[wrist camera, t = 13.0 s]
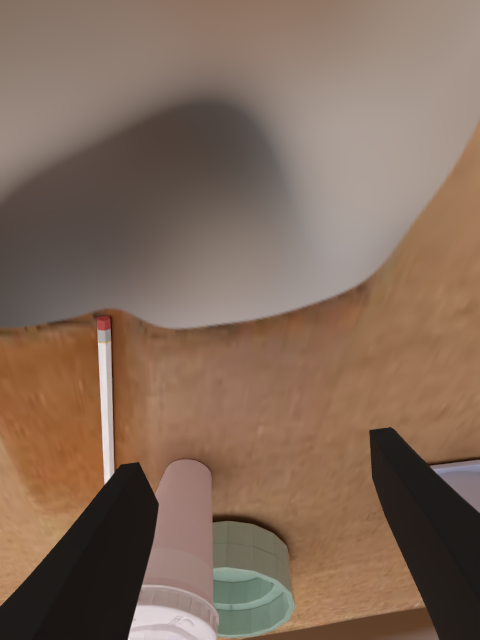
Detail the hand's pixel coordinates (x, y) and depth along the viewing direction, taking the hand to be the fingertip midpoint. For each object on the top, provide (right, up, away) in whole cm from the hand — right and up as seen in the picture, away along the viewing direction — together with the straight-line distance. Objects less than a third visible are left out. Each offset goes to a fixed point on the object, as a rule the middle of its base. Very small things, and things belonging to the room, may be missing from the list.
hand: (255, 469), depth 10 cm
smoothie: (-5, -7, +15) cm, 18 cm away
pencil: (-10, -3, +14) cm, 17 cm away
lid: (-1, -17, +19) cm, 26 cm away
